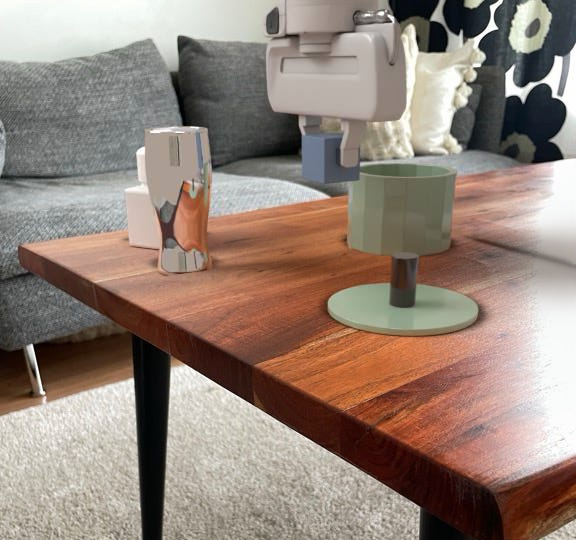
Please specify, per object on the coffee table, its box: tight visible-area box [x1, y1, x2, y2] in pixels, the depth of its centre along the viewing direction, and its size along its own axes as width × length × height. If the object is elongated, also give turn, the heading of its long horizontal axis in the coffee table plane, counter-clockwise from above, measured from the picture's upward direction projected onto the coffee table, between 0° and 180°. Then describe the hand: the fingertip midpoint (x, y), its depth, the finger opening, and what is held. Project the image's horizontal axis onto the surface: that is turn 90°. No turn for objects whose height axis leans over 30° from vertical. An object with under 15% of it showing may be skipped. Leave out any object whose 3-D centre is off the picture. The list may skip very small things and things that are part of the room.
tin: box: [346, 162, 458, 257], centre depth 88 cm, size 13×13×10 cm
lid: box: [327, 252, 479, 337], centre depth 65 cm, size 14×14×6 cm
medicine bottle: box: [123, 145, 159, 250], centre depth 90 cm, size 7×7×12 cm
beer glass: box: [143, 125, 213, 277], centre depth 78 cm, size 7×7×15 cm
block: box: [301, 132, 361, 185], centre depth 75 cm, size 4×4×4 cm
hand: (330, 163), depth 75 cm, fingers closed on block, 4 cm apart
